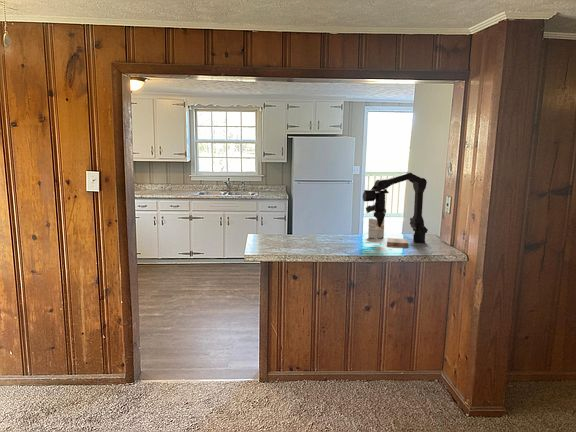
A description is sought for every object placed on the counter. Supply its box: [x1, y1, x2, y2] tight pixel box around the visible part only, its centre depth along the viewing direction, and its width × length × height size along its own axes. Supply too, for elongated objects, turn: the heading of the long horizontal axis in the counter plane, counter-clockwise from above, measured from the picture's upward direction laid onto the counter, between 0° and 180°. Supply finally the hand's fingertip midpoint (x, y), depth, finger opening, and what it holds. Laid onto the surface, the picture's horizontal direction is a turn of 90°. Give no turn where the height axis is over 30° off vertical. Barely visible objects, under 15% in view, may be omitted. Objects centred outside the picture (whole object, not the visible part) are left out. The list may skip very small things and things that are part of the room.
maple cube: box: [376, 220, 385, 230], centre depth 251 cm, size 4×4×4 cm
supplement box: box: [367, 216, 385, 240], centre depth 271 cm, size 7×7×13 cm
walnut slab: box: [386, 237, 409, 248], centre depth 249 cm, size 12×12×3 cm
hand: (379, 226), depth 251 cm, fingers closed on maple cube, 4 cm apart
